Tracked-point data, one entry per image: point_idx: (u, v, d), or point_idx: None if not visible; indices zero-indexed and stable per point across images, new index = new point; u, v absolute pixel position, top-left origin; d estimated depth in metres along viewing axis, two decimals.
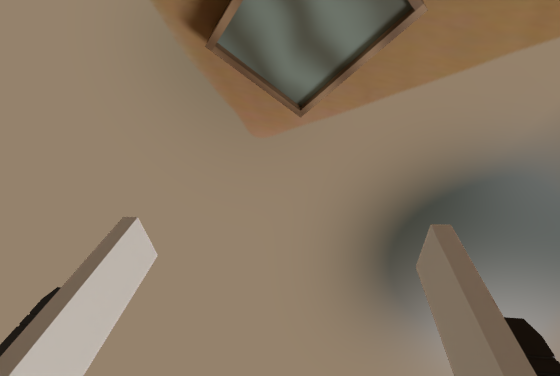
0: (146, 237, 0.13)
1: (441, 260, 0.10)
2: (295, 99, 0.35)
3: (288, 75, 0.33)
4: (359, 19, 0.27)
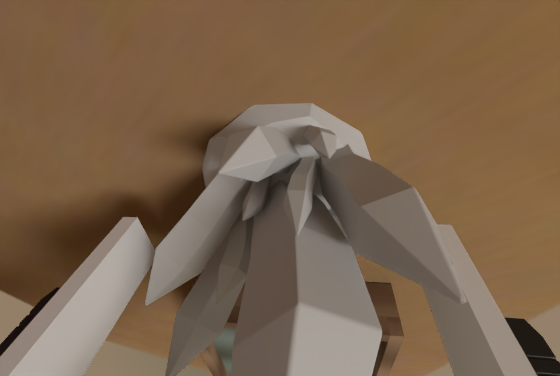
0: (146, 237, 0.13)
1: None
2: None
3: None
4: None
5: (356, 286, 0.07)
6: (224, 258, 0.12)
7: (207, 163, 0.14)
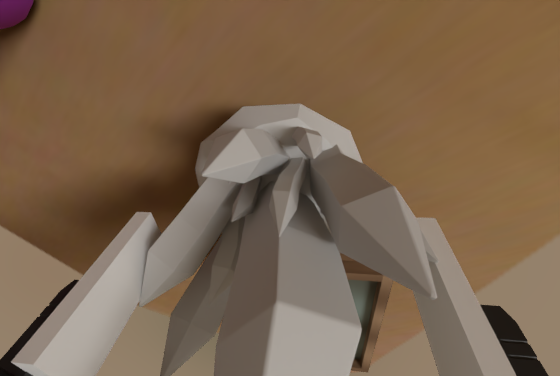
0: (158, 232, 0.13)
1: None
2: None
3: None
4: None
5: (338, 284, 0.07)
6: (216, 259, 0.12)
7: (200, 165, 0.14)
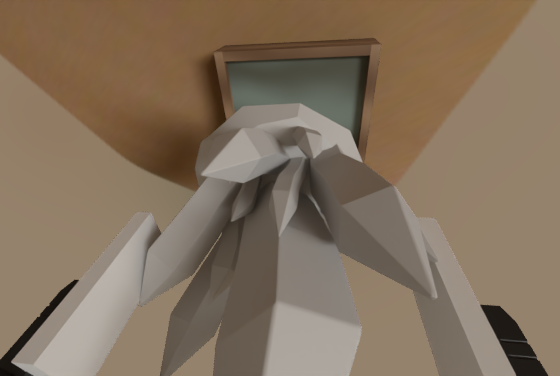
0: (159, 232, 0.13)
1: None
2: None
3: None
4: (331, 100, 0.26)
5: (338, 284, 0.07)
6: (216, 259, 0.12)
7: (199, 165, 0.14)
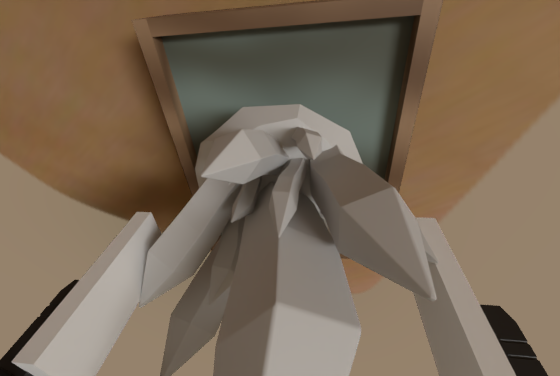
0: (159, 232, 0.13)
1: None
2: None
3: None
4: (345, 102, 0.15)
5: (338, 285, 0.07)
6: (216, 260, 0.12)
7: (199, 166, 0.14)
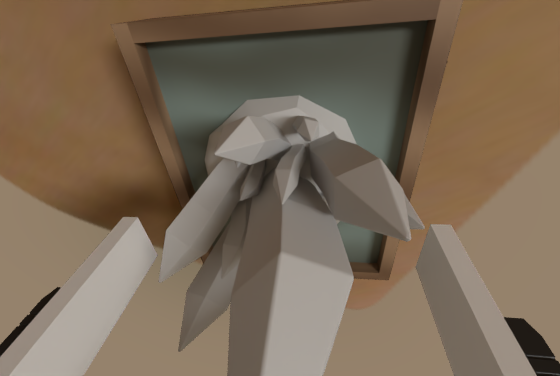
0: (146, 237, 0.13)
1: (441, 260, 0.10)
2: (360, 259, 0.20)
3: None
4: (348, 115, 0.14)
5: (334, 244, 0.09)
6: (227, 238, 0.14)
7: (209, 156, 0.16)
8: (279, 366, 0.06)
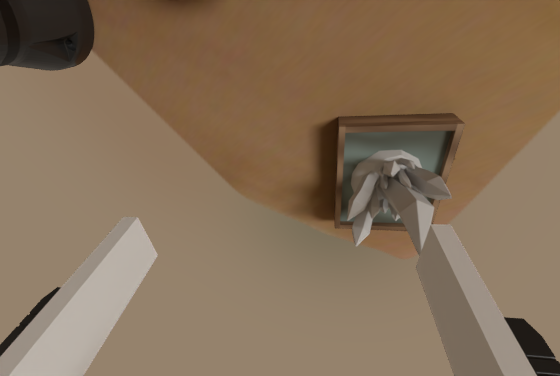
0: (146, 237, 0.13)
1: (441, 260, 0.10)
2: None
3: None
4: (420, 157, 0.35)
5: (426, 200, 0.30)
6: (372, 204, 0.35)
7: (357, 172, 0.37)
8: (421, 222, 0.28)
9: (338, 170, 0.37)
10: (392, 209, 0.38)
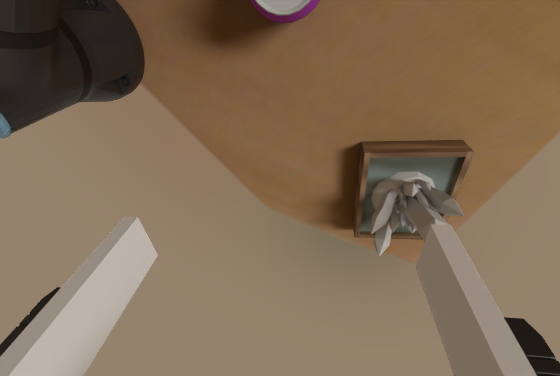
0: (146, 237, 0.13)
1: (441, 260, 0.10)
2: None
3: None
4: (433, 177, 0.41)
5: (442, 218, 0.35)
6: (392, 219, 0.40)
7: (378, 190, 0.42)
8: None
9: (361, 188, 0.42)
10: (408, 222, 0.43)
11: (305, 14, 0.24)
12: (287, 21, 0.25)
